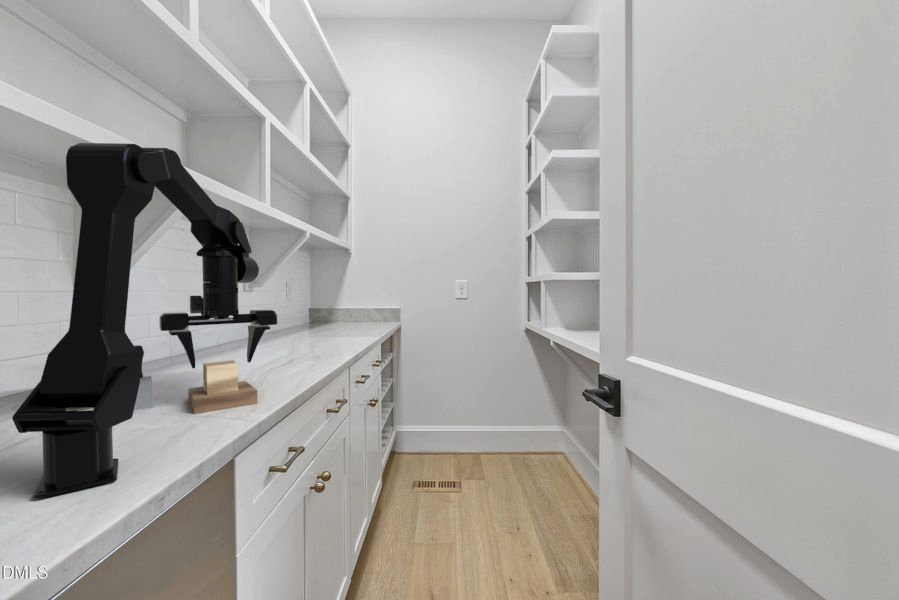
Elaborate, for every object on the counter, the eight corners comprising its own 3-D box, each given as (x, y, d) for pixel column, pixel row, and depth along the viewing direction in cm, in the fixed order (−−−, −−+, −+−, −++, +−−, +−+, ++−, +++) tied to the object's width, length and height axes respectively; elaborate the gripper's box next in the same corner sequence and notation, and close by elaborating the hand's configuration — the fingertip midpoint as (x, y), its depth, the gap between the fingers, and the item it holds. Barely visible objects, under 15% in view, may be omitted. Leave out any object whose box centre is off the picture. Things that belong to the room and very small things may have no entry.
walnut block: (257, 406, 75) (257, 390, 75) (194, 417, 69) (194, 400, 69) (246, 395, 83) (245, 381, 83) (188, 404, 77) (188, 388, 76)
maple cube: (238, 390, 75) (237, 363, 75) (207, 394, 72) (206, 367, 72) (233, 385, 79) (232, 360, 79) (203, 389, 76) (203, 363, 76)
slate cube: (152, 408, 73) (152, 380, 72) (117, 413, 70) (116, 384, 69) (151, 402, 77) (151, 376, 76) (117, 406, 73) (117, 379, 73)
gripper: (262, 283, 87) (264, 354, 88) (157, 282, 76) (159, 364, 76) (277, 282, 78) (278, 361, 79) (160, 281, 67) (162, 374, 67)
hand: (222, 365), depth 76 cm, fingers open, 9 cm apart
